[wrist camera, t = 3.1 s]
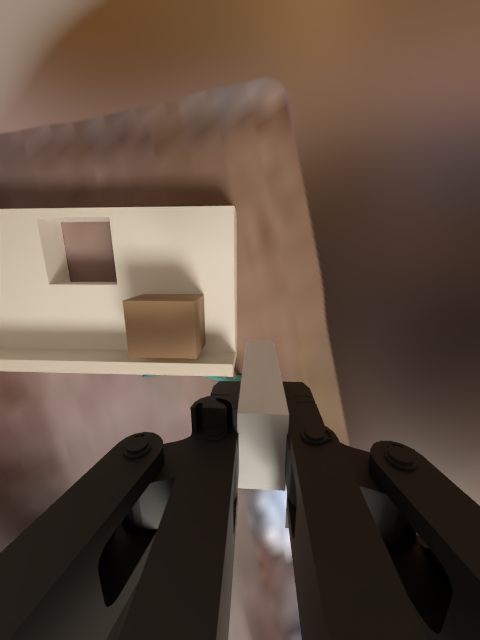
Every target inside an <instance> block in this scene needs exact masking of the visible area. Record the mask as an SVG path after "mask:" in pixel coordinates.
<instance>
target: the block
mask: <svg viewBox="0 0 480 640" xmlns="http://www.w3.org/2000/svg"><path fill="white" fill-rule="evenodd" d="M122 302H123V310H124V319H125V328H126V336H127V345H128V354H129V357H134V358H185V359H197V358H198V356H199V354H200V352H201V351H202V349H203V347H204V345H205V344H206V340H205V313H204V294H142V295H139V296H136V297H133V298H129V299H126V300H123V301H122Z"/></svg>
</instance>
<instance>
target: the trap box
mask: <svg viewBox="0 0 480 640" xmlns="http://www.w3.org/2000/svg"><path fill="white" fill-rule="evenodd" d="M61 222H110V227H111V235H112V244H113V252H114V261H115V269H116V277H117V282H70V276H69V270H68V264H67V258H66V252H65V246H64V240H63V233H62V227H61ZM142 294H204V313H205V340H206V344H205V345H204V347H203V349H202V351H201V352H200V354H199V356H198V358H197V359H185V358H134V357H129V354H128V345H127V336H126V328H125V319H124V310H123V302H122V301H123V300H126V299H129V298H133V297H136V296H139V295H142ZM236 356H237V220H236V209H235V207H234V206H184V207H109V208H34V209H0V371H17V372H59V373H102V374H144V375H186V376H228V377H233V373H234V367H235V362H236Z"/></svg>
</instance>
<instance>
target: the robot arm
mask: <svg viewBox="0 0 480 640" xmlns="http://www.w3.org/2000/svg"><path fill="white" fill-rule="evenodd" d="M191 420H192V434H191V436H190V437H188V438H186V439H183V440H180V441H176V442H171V443H166V444H163V440H162V439H161V437H160V436H159V435H157V434H155V433H150V432H142V433H137V434H133V435H131V436H129V437H126V438H125V439H123V440H122V441H121V442H119V443H118V444H117V445H116V446H115V447H113V448H112V449H111V450H110V451H109V452H108V453H107V454H106V455H105V456H104V457H103V458H102V459H101V460H100V461H98V462H97V463H96V464H95V465H94V466H93V467H92V468H91V469H90V470H89V471H88V472H87V473H86V474H84V475H83V476H82V477H81V478H80V479H79V480H78V481H77V482H76V483H75V484H74V485H73V486H72V487H71V488H69V489H68V490H67V491H66V492H65V493H64V494H63V495H62V496H61V497H60V498H59V499H58V500H57V501H56V502H54V503H53V504H52V505H51V506H50V507H49V508H48V509H47V510H46V511H45V512H44V513H43V514H42V515H40V516H39V517H38V518H37V519H36V520H35V521H34V522H33V523H32V524H31V525H30V526H29V527H28V528H27V529H25V530H24V531H23V532H22V533H21V534H20V535H19V536H18V537H17V538H16V539H15V540H14V541H13V542H12V543H10V544H9V545H8V546H7V547H6V548H5V549H4V550H3V551H2V552H1V553H0V640H228V632H229V618H230V604H231V590H232V576H233V562H234V548H235V534H236V520H237V506H238V498H237V491H238V488H246V489H265V490H283V491H285V484H286V487H287V508H286V526H285V528H289V533H290V541H291V550H292V558H293V567H294V575H295V584H296V592H297V601H298V609H299V618H300V626H301V635H302V640H480V506H479V505H478V504H477V503H476V502H475V501H473V500H472V499H471V498H470V497H469V496H468V495H467V494H465V493H464V492H463V491H462V490H461V489H460V488H458V487H457V486H456V485H455V484H454V483H453V482H452V481H451V480H449V479H448V478H447V477H446V476H445V475H444V474H443V473H441V472H440V471H439V470H438V469H437V468H436V467H435V466H434V465H432V464H431V463H430V462H429V461H428V460H427V459H426V458H424V457H423V456H422V455H421V454H419V453H418V452H416V451H415V450H414V449H412V448H410V447H408V446H405V445H403V444H400V443H397V442H393V441H379V442H376V443H374V444H373V446H372V447H371V450H370V452H367V451H363V450H360V449H356V448H352V447H350V446H347V445H344V444H342V443H340V442H339V440H338V437H337V436H336V435H335V433H334V432H333V431H332V430H330V429H329V428H328V427H326V426H325V425H324V423H323V420H322V418H321V415H320V413H319V410H318V408H317V405H316V404H315V400H314V398H313V395H312V393H311V390H310V388H308V387H307V386H306V385H305V384H304V383H303V382H282V378H281V373H280V368H279V364H278V359H277V354H276V349H275V344H274V340H246V344H245V353H244V361H243V369H242V378H241V381H219V382H218V383H217V384H216V385H215V386H214V387H213V389H212V392H211V395H210V396H207V397H204V398H201V399H199V400H198V401H196V402H194V404H193V405H192V406H191Z"/></svg>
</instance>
